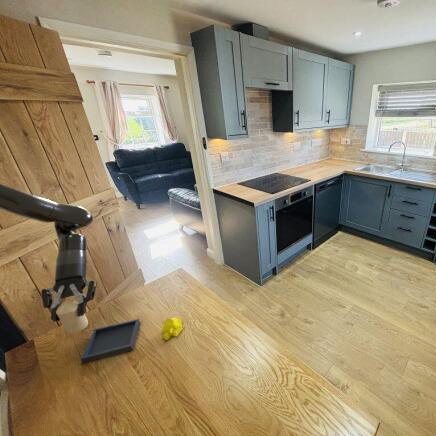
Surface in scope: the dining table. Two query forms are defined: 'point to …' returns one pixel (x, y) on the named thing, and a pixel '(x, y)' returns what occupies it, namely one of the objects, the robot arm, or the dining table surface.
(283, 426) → the dining table surface
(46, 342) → the dining table surface
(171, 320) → the crumpled paper
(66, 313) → the candle
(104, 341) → the tray
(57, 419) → the dining table surface
